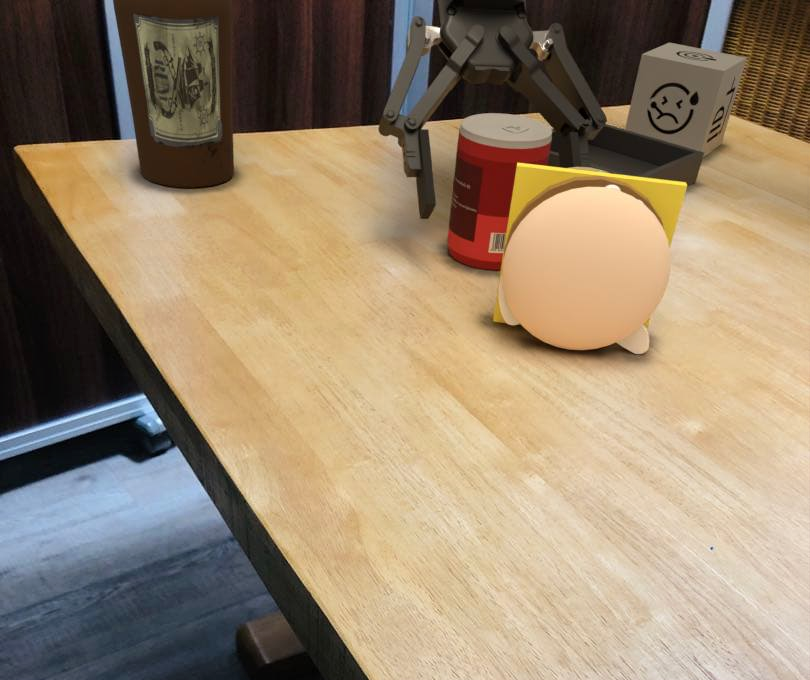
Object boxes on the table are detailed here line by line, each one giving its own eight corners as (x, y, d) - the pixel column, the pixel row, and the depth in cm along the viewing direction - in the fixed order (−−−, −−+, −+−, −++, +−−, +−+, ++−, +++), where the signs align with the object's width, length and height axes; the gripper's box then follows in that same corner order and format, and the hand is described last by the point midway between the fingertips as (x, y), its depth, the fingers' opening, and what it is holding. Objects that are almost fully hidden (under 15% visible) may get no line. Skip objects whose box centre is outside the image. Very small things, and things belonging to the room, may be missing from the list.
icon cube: (721, 143, 112) (747, 57, 106) (698, 161, 106) (724, 71, 99) (648, 126, 116) (669, 42, 109) (621, 142, 109) (641, 54, 103)
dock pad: (695, 182, 100) (704, 152, 97) (629, 213, 90) (636, 180, 88) (581, 146, 107) (586, 118, 104) (508, 172, 97) (512, 141, 95)
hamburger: (489, 353, 65) (514, 190, 57) (494, 305, 71) (518, 152, 63) (649, 373, 64) (697, 212, 56) (640, 323, 71) (682, 172, 63)
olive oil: (133, 156, 92) (95, -143, 75) (233, 155, 94) (218, -134, 78) (136, 192, 84) (95, -132, 68) (246, 190, 87) (232, -122, 70)
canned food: (545, 253, 80) (568, 127, 73) (503, 279, 75) (524, 147, 68) (474, 230, 83) (490, 106, 76) (429, 254, 78) (442, 124, 71)
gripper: (592, 10, 82) (616, 229, 81) (333, -3, 77) (355, 231, 76) (628, -48, 75) (655, 192, 73) (344, -67, 69) (368, 191, 68)
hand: (503, 212), depth 74 cm, fingers open, 13 cm apart
